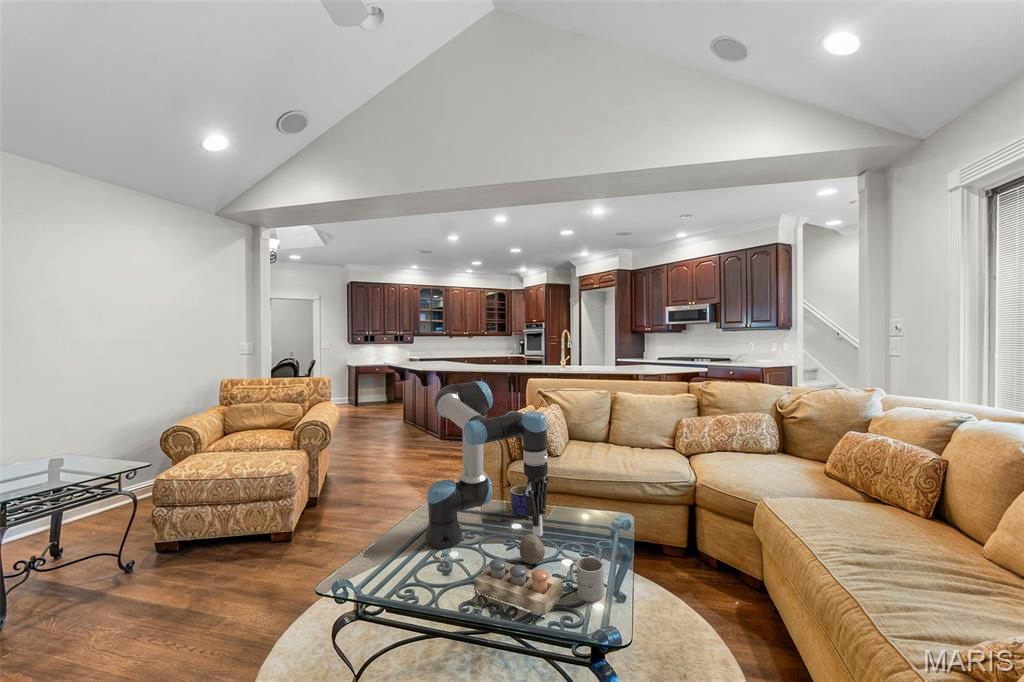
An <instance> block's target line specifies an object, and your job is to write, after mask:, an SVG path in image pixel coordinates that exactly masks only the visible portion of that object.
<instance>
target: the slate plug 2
mask: <svg viewBox="0 0 1024 682" xmlns="http://www.w3.org/2000/svg"><path fill="white" fill-rule="evenodd" d="M514 565H515V566H512V567H511V568H510V574H511V584H514V585H517V586H520V587H523V585H524V584H525V583H526V569H527V568H526V566H525V565H521V564H514Z"/></svg>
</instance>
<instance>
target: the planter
mask: <svg viewBox="0 0 1024 682" xmlns="http://www.w3.org/2000/svg"><path fill="white" fill-rule="evenodd" d="M527 487H528V485H527V484H526V485H525V484H521V485H515V486H513V487H511V488H510V489H509V501H510V509H511V511H512V513H513V514H514V515H515V516H516V517H520V518H524V517H529V516H528V511H527V505H526V499H525V495H524V493H523V490H524V489H525V490H526V489H527Z"/></svg>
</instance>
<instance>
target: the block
mask: <svg viewBox="0 0 1024 682" xmlns="http://www.w3.org/2000/svg"><path fill="white" fill-rule="evenodd" d="M515 565H516V564H512V563H510V562H506V566H505V576H504V577H503V578H502V579H501V580H499V579H496V578H493V577H491V568H490V565H488V566H487V567H486V568H485V569H484V570H483V571H482V572H481V573H479V575H477V576H476V577H475V578H474V586H475V587H474V588H475V594H476V595H478V594H477V590H480V591H481V593H483V594H484V595H486V596H488V597H491V598H494V599H497V600H499V601H503V602H506V603H510V604H513V605H516V606H519V607H522V608H524V609H527V610H530V611H535V612H539V613H542V614H544V615H546V614H547V613H548V612H549V611H550V610H551V608H552V607H553V606H554V605H555V604H556V603H557V604H558V603H559V601H560V600H561V598H562V597H563V596H562V595H564V580H563V579H561V578H558V577H554V576H551V575H548V578H547V585H548V591H547V592H546V593H545V594H544V595H543V594H540V593H537V592H535V591H533V585H532V578H531V573H532V571H533V570H532V569H529V568H526V583H525V584H524V585H523V587H520V586H517V585H514V584H511V574H510V568H511V567H512V566H515ZM561 596H562V597H561ZM560 597H561V598H560ZM557 604H556V605H557ZM556 605H555V606H556ZM555 606H554V607H555Z"/></svg>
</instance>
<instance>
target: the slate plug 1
mask: <svg viewBox="0 0 1024 682" xmlns="http://www.w3.org/2000/svg"><path fill="white" fill-rule="evenodd" d="M506 563H507V562H506V560H504V559H502V558H494V559H492V560H491V561H490V562H489V566H490V568H491V577H493V578H496V579H499V580H501V579H502V578H503V577H504V576H505V566H506Z"/></svg>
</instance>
